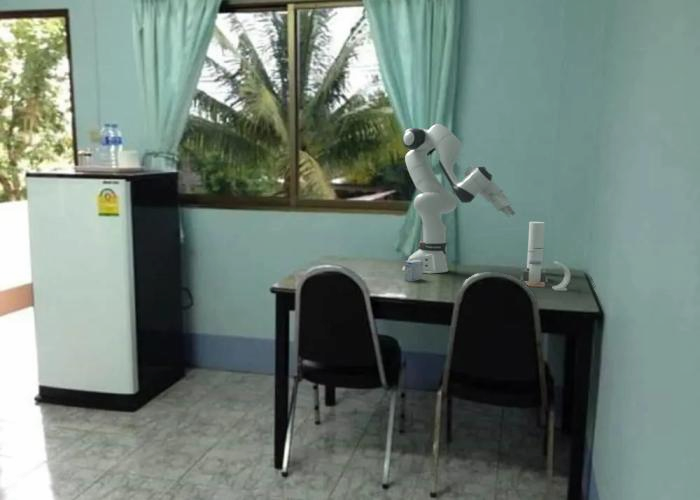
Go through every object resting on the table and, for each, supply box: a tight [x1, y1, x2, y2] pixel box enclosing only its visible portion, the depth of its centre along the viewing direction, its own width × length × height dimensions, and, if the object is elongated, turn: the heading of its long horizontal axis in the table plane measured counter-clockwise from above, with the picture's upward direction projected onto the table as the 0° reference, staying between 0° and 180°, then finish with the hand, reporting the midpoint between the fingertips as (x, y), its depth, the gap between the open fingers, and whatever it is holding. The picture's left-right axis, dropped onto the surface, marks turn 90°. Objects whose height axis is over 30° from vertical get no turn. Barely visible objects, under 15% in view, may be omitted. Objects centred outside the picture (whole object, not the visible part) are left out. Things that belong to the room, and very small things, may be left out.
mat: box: [523, 281, 546, 288], centre depth 275 cm, size 9×9×1 cm
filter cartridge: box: [529, 260, 541, 284], centre depth 274 cm, size 5×5×10 cm
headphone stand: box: [551, 260, 571, 291], centre depth 264 cm, size 5×6×12 cm
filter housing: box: [520, 267, 549, 284], centre depth 286 cm, size 12×12×4 cm
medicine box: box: [403, 260, 423, 282], centre depth 281 cm, size 8×4×9 cm, turn 135°
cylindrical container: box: [526, 221, 546, 269], centre depth 302 cm, size 7×7×25 cm
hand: (512, 215), depth 288 cm, fingers open, 8 cm apart
